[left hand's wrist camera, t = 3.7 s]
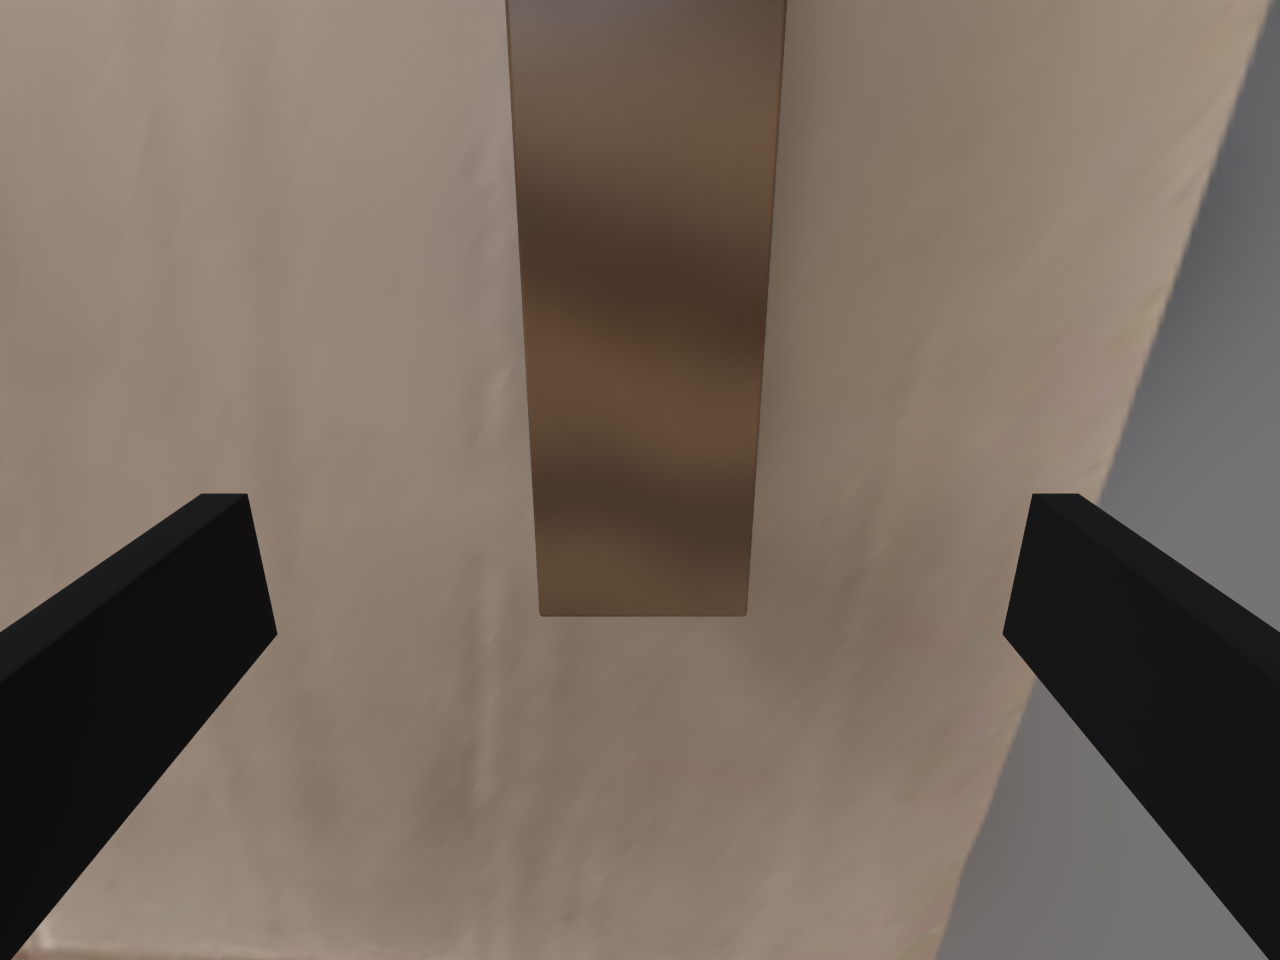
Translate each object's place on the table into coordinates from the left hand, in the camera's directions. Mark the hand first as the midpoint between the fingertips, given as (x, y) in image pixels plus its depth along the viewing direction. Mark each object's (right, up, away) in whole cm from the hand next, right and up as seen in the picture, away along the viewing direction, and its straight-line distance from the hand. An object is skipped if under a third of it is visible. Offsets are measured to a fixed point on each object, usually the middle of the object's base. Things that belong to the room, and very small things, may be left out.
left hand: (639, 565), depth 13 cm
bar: (0, +38, 0) cm, 38 cm away
